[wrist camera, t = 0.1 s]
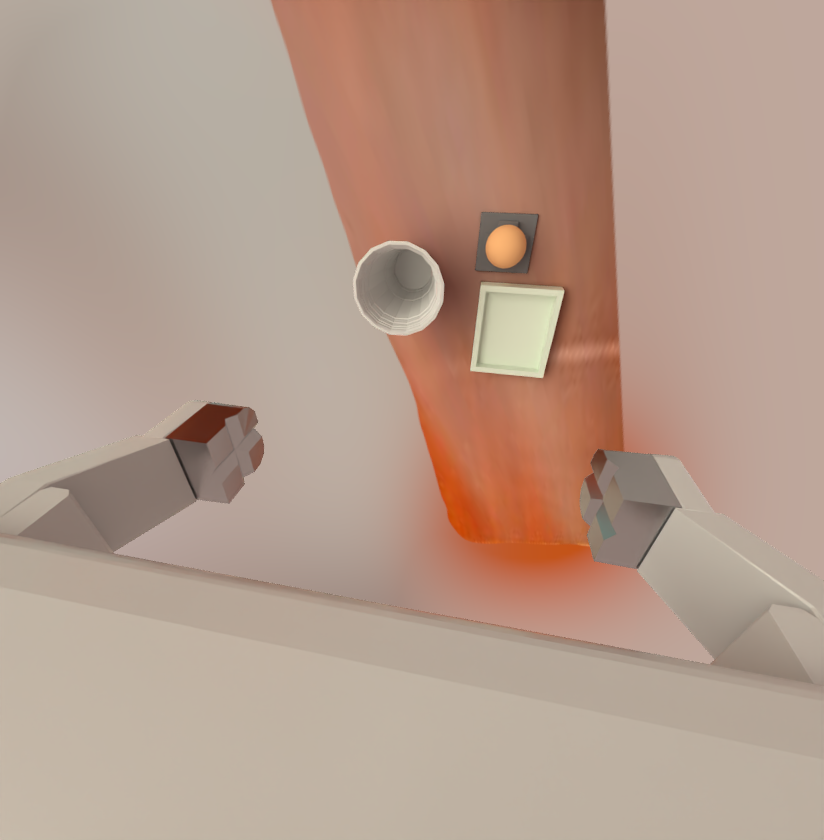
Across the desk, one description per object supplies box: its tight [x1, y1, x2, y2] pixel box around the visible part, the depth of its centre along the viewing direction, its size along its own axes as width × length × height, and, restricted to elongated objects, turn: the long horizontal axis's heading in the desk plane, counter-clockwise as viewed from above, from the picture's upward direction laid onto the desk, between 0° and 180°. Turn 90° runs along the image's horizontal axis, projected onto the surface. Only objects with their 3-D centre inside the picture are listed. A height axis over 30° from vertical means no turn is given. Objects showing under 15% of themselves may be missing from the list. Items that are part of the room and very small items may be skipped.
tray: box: [470, 281, 565, 378], centre depth 54 cm, size 13×11×2 cm
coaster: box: [475, 212, 538, 273], centre depth 48 cm, size 7×7×1 cm
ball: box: [486, 225, 526, 268], centre depth 46 cm, size 5×5×5 cm
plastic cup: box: [353, 241, 444, 335], centre depth 48 cm, size 11×11×12 cm
